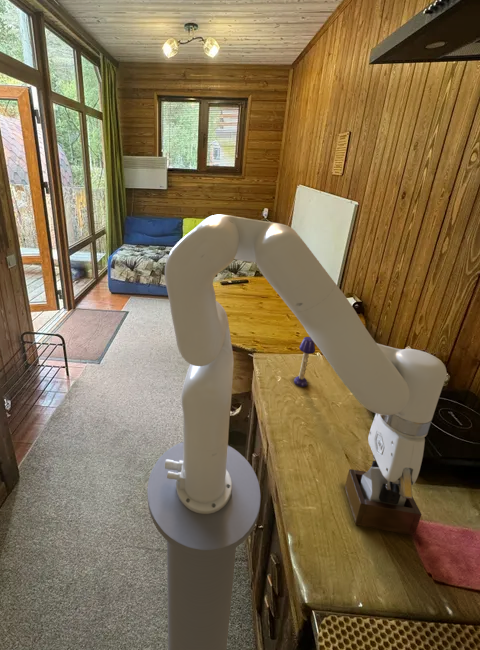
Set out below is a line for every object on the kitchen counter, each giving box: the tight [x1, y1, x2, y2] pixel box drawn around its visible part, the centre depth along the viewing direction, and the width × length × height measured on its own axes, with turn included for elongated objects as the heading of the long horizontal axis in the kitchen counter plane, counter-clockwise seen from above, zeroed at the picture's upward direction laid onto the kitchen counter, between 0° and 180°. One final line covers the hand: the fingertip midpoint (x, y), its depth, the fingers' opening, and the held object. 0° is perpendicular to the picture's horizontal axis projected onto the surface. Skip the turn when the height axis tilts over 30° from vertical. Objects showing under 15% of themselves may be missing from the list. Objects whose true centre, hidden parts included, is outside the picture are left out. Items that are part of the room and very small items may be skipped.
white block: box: [360, 466, 406, 507], centre depth 61 cm, size 4×7×10 cm, turn 88°
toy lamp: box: [293, 336, 316, 388], centre depth 99 cm, size 5×5×17 cm
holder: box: [344, 468, 422, 536], centre depth 62 cm, size 11×7×6 cm
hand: (383, 488), depth 61 cm, fingers closed on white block, 4 cm apart
